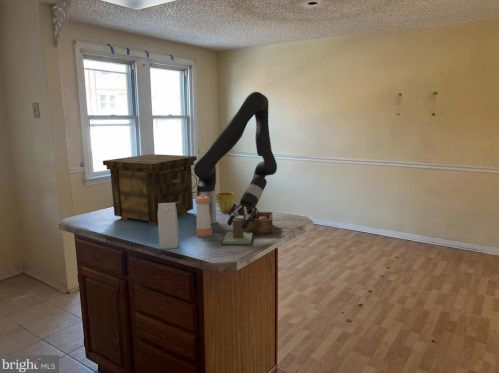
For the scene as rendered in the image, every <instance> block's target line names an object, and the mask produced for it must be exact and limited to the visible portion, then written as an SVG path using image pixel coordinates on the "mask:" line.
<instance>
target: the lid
mask: <svg viewBox="0 0 499 373" xmlns="http://www.w3.org/2000/svg"><path fill="white" fill-rule="evenodd" d="M242 225H243V217H236V218H234V219H233V222H232V232H231V231H229V232H227V231H226V233H225V236H224V239H223V240H222V242H223V244H251V240H252V236H253V235H254V234H253V233H251V232H243V228H242ZM253 237H254V236H253Z"/></svg>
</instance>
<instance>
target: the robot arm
mask: <svg viewBox="0 0 499 373" xmlns="http://www.w3.org/2000/svg"><path fill="white" fill-rule="evenodd" d="M253 117H254V118H255V125H256V126H255V147H256V153H257V156H259V157H262V159H263V161H259V163H258V164H257V165H256V166H255V169H254V171H253V172H254V173H253V177H252V178H251V181H250V183H249V185H248V186H247V188H246V189H245V191H244V193H243V195H242V196H241V198H240V200H239V201H240V202H239V204H236V203H232V207H231V209H230V210H229V211H227V215H228V216H229V218H228V219H227V222H226V224H227V225H228V226H229V227H231V226H232V225H233V219H234V218H240V216H241V217H243V216H245V217H246V220H245V221H244V223H243V225H242V228H243V229H246V228H247V226H248V224H249V222H254V221H255V219H256V217H257V215H258V212H260V211H259V209H258V208H257V205H258V203H259V201H260V199H261V197H262V195H263V192H264V191H265V188H266V187H267V184H268V182H267V179H266V177H268V176H273V175H275V174H276V173H277V170H278V165H277V160H276V158H275V155H274V153H273V150H272V143H271V135H270V128H269V98H268V97H267V96H266V95H265V94H263V93H261V92H259V91H253V92H250V93H249V94H248V95H247V96H246V97H245V99H244V101H243V103H242V104H241V105H240V107H239V109H238V110H237V112H236V113H235V114H234V116H232V118H231V119H230V121H229V122H228V123H227V125H225V127H223V129H222V131H221V132H220V133H219V134H218V136H217V138H216V139H215V140H213V141H214V142H213V143H212V144H211V146H210V148H209V149H208V150H207V151H206V153H204V155H203V156H202V157H200V159H199V160H198V161H196V163H194V167H193V172H194V175H195V176H196V178H197V177H198V182H197V185H196V192H197V193H196V194H197V195H196V196H197V197H198V196H201V195H202V194H203V195H204V196H208V197H209V198H210V203H209V214H210V219H211V225H214V224H216V223H217V206H216V205H217V204H216V203H217V202H216V201H217V200H216V184H217V169H216V168H217V167H216V166H217V164H218V163H219V162H220V160H221V159H222V158H223V157H224V156H225V155H227V154H228V153H229V152H230V151H231V150H232V149H233V148H234V147H235V146H236V145H237V144H238V142H239V141H240V139H241V138H242V137H243V135H244V132H245V130H246V127H247V125H248V123H249V121H251V119H252V118H253ZM197 197H196V198H197ZM250 213H252V214H251V215H250Z"/></svg>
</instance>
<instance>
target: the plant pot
mask: <svg viewBox="0 0 499 373" xmlns="http://www.w3.org/2000/svg"><path fill="white" fill-rule="evenodd" d="M215 199H216V201H217V202H218V207H219V210H220V211H221V212H229V210H230V209H231V207H232V205H233V204H234V203H233V201H234V200H235V193H234V192H229V191H223V192H218V193H215Z"/></svg>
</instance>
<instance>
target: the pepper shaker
mask: <svg viewBox="0 0 499 373" xmlns="http://www.w3.org/2000/svg"><path fill="white" fill-rule="evenodd" d="M194 202H195V204H196V227H195V228H196V229H195V230H196V231H195V232H196V236H197V237H203V238H205V237H210V236H212V235H213V233H212V232H213V230H212V229H213V228H212V227H213V226H212V224H211V219H210V214H209V203H210V198H209V197H208V196H204V195H203V194H202V195H201V196H198V197H195V200H194Z"/></svg>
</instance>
